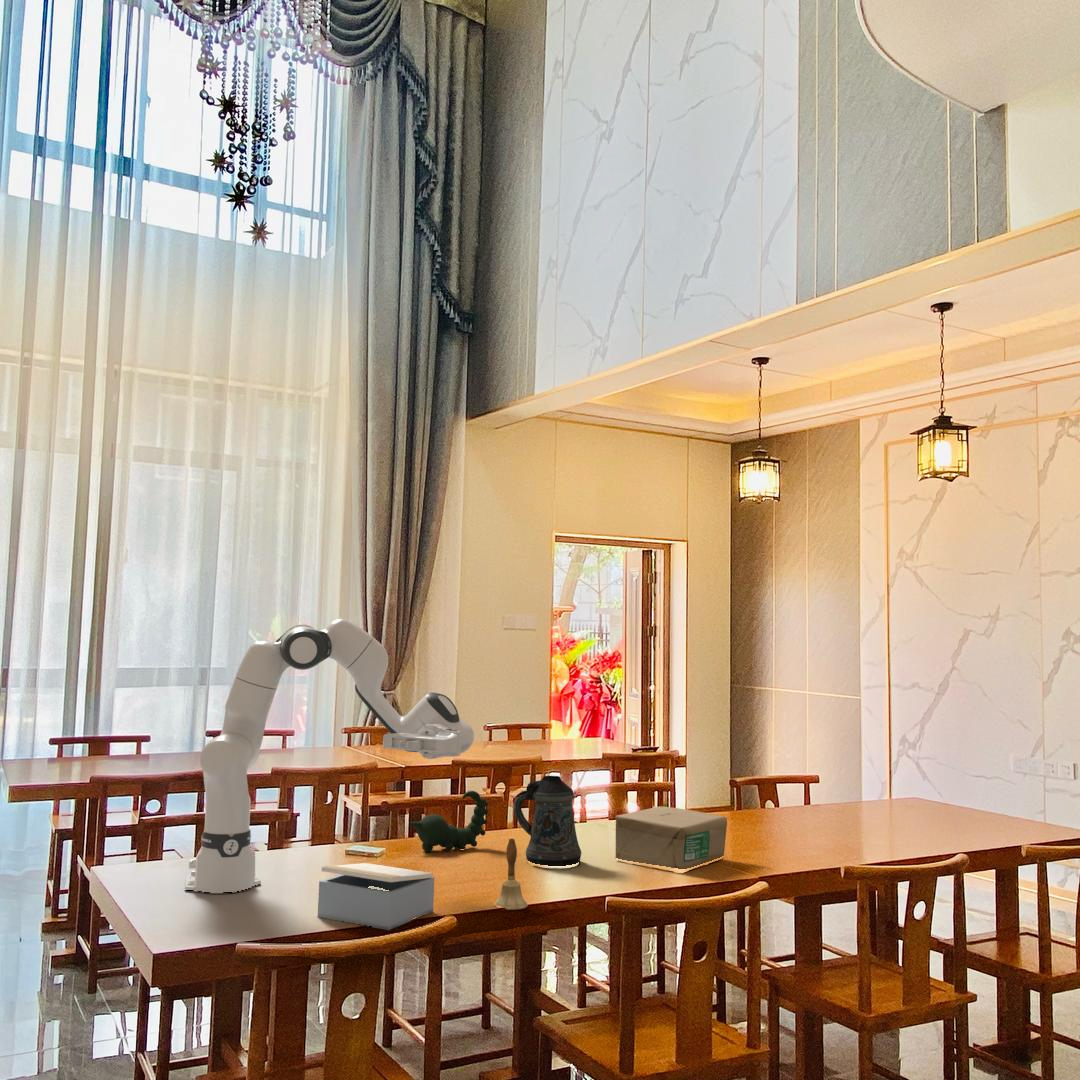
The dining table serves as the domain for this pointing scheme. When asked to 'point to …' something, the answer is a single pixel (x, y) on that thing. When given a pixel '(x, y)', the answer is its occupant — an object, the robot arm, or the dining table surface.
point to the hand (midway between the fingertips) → (402, 745)
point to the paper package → (670, 837)
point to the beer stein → (549, 823)
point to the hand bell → (511, 883)
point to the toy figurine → (452, 828)
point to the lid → (377, 872)
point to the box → (374, 900)
